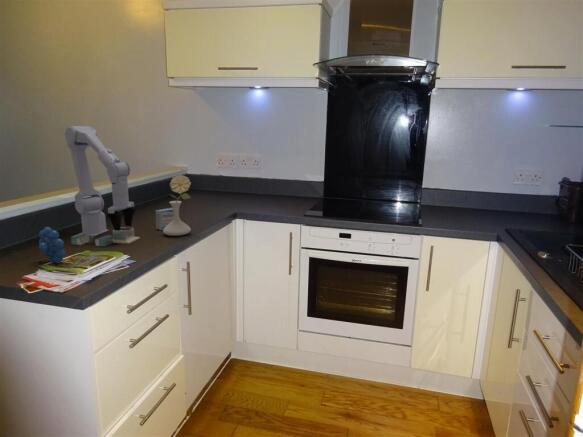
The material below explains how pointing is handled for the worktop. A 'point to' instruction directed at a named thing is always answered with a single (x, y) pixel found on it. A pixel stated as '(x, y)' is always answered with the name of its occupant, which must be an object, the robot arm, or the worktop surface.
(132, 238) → the mat
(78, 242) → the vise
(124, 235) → the grey hollow block
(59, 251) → the grapes
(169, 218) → the medicine box
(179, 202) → the flower in vase
